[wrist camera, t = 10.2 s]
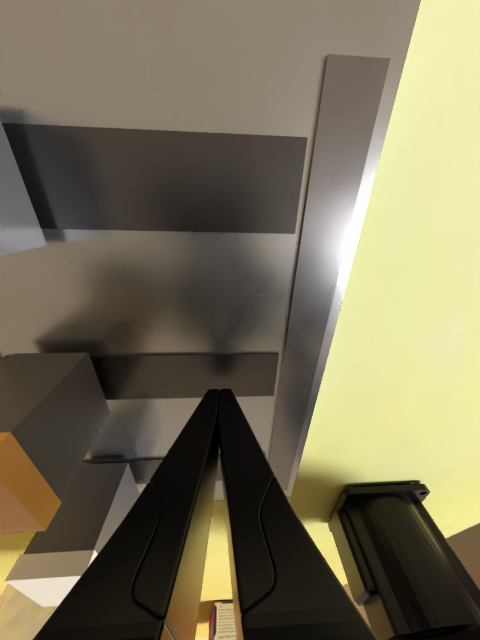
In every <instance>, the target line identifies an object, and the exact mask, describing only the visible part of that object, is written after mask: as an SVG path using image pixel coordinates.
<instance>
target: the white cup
mask: <svg viewBox="0 0 480 640" xmlns="http://www.w3.org/2000/svg"><path fill="white" fill-rule="evenodd" d="M57 607H58V606H49V607H42V606H41V605H39V604H38V603H36V602H35V601H33V600H32V599H30V598H29V597H28V596H26V595H25V594H23V593H22V592H20V591H19V590H17V589H16V588H14V587H13V586H11V585H10V584H7V586H6V588H5V589H4V591H3V593H2V594H1V596H0V640H32V639H33V638H34V637H35V636H36V634H37V633H38V632H39V630H40V629H41V628H42V627H43V625H44V624H45V623H46V621H47V620H48V619H49V617H50V616H51V615H52V614H53V612H54V611H55V610H56V608H57Z"/></svg>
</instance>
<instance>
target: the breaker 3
mask: <svg viewBox="0 0 480 640" xmlns="http://www.w3.org/2000/svg"><path fill="white" fill-rule="evenodd" d="M139 496H140V493H139V491H138V488H137V485H136V483H135V480H134V477H133V475H132V472H131V469H130V466H129V464H128V463H107V464H82V465H80V467H79V468H78V470H77V472H76V474H75V475H74V477H73V479H72V480H71V482H70V484H69V486H68V487H67V489H66V491H65V493H64V494H63V496H62V498H61V500H60V501H61V505H60V506H59V508H58V510H57V512H56V513H55V515H54V517H53V519H52V521H51V522H50V524H49V526H48V528H47V529H46V531H37V532H36V534H35V535H34V537H33V539H32V540H31V542H30V544H29V545H28V547H27V549H26V550H25V552H24V554H22V555H20V557H19V558H18V560H17V562H16V563H15V565H14V567H13V568H12V570H11V572H10V573H9V575H8V577H7V578H6V580H5V581H6V582H7V583H8V584H10V585H11V586H13V587H14V588H16V589H17V590H19V591H20V592H22V593H23V594H25V595H26V596H28V597H29V598H30V599H32V600H33V601H35V602H36V603H38V604H39V605H41V606H42V607H49V606H59V604H60V603H61V602H62V600H63V599H64V598H65V596H66V595H67V594H68V593H69V591H70V590H71V589H72V587H73V586H74V585H75V583H76V582H77V581H78V579H79V578H80V577H81V576H82V574H83V573H84V572H85V570H86V569H87V568H88V566H89V565H90V564H91V562H92V561H93V560H94V559H95V557H96V556H97V555H98V553H99V552H100V551H101V549H102V548H103V547H104V545H105V544H106V543H107V541H108V540H109V539H110V537H111V536H112V534H113V533H114V532H115V530H116V529H117V528H118V526H119V525H120V524H121V522H122V521H123V519H124V518H125V516H126V515H127V513H128V512H129V511H130V509H131V508H132V506H133V505H134V503H135V502H136V500H137V499H138V497H139Z"/></svg>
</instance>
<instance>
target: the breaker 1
mask: <svg viewBox="0 0 480 640" xmlns="http://www.w3.org/2000/svg"><path fill="white" fill-rule="evenodd" d="M45 246H47V244H46V241H45V238H44V236H43V233H42V230H41V227H40V225H39V222H38V219H37V217H36V214H35V211H34V209H33V206H32V203H31V201H30V198H29V195H28V193H27V190H26V187H25V184H24V182H23V179H22V176H21V174H20V171H19V168H18V166H17V163H16V160H15V158H14V155H13V152H12V150H11V147H10V144H9V142H8V139H7V136H6V133H5V131H4V128H3V125H2V123H1V120H0V255H5V254H10V253H15V252H20V251H25V250H30V249H35V248H40V247H45Z"/></svg>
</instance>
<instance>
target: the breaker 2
mask: <svg viewBox="0 0 480 640" xmlns="http://www.w3.org/2000/svg"><path fill="white" fill-rule="evenodd" d="M109 415H110V410H109V407H108V404H107V402H106V399H105V396H104V394H103V391H102V388H101V385H100V383H99V380H98V377H97V375H96V372H95V369H94V366H93V364H92V361H91V358H90V356H89V353H14V354H13V355H11V356H10V357H8V358H7V359H6V360H4V361H3V362H1V363H0V533H17V532H35V531H46V529H47V528H48V526H49V524H50V522H51V521H52V519H53V517H54V515H55V513H56V512H57V510H58V508H59V506H60V505H61V501H60V500H61V498H62V496H63V494H64V493H65V491H66V489H67V487H68V486H69V484H70V482H71V480H72V479H73V477H74V475H75V474H76V472H77V470H78V468H79V467H80V465H81V463H82V461H83V460H84V458H85V456H86V454H87V453H88V451H89V449H90V447H91V446H92V444H93V442H94V441H95V439H96V437H97V435H98V434H99V432H100V430H101V428H102V427H103V425H104V423H105V421H106V420H107V418H108V416H109Z"/></svg>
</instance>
